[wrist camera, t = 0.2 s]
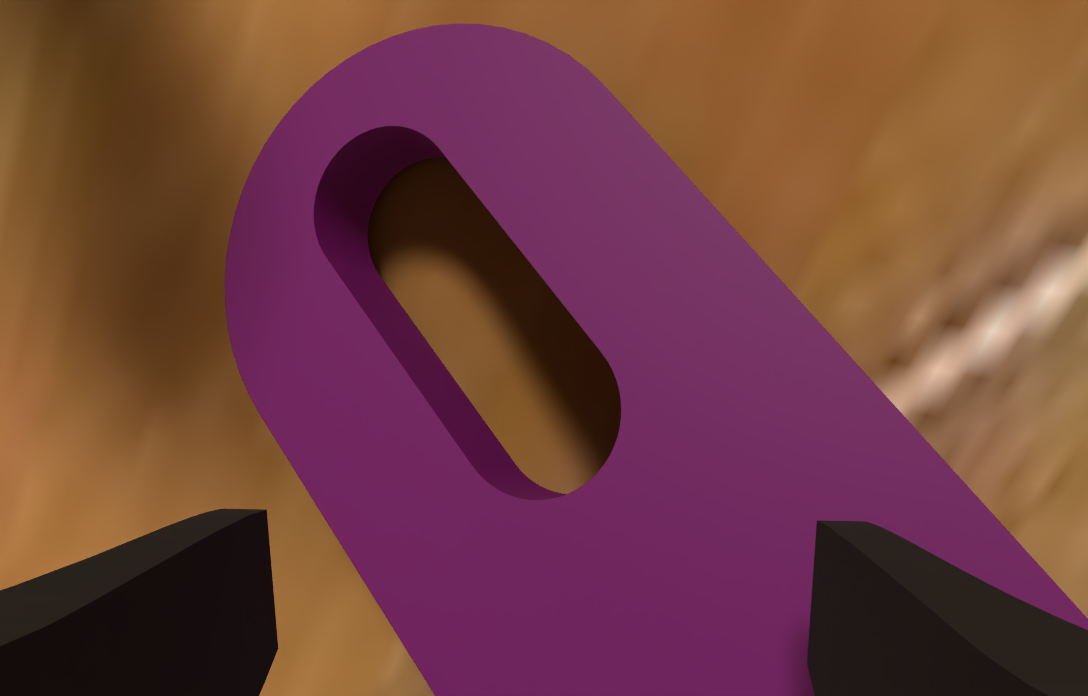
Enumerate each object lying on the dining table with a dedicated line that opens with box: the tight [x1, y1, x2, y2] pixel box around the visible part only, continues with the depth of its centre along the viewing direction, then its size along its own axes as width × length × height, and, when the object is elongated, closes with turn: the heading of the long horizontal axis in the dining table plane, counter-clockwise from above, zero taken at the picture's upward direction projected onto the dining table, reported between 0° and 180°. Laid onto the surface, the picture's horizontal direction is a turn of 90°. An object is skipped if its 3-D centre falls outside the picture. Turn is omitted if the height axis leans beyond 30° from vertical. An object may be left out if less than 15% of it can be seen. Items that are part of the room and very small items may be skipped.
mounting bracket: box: [225, 24, 1088, 696], centre depth 20 cm, size 9×8×18 cm
